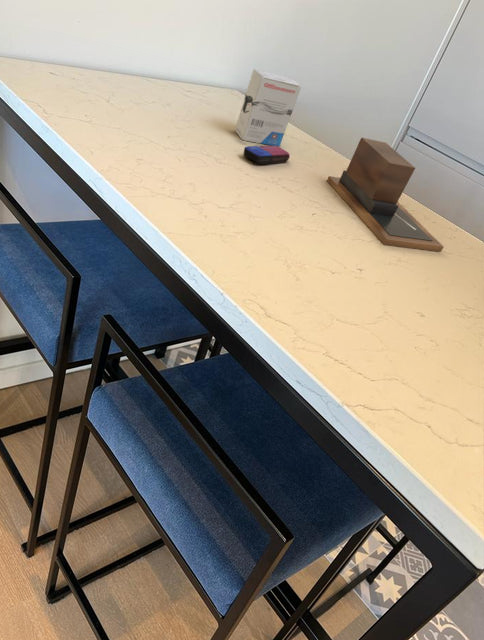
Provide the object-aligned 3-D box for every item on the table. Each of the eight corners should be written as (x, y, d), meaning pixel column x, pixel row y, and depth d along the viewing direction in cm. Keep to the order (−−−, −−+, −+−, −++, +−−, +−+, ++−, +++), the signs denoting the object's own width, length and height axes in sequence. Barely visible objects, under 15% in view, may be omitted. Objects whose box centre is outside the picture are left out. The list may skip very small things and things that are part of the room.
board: (440, 252, 96) (444, 246, 95) (384, 244, 91) (387, 238, 90) (378, 189, 111) (381, 184, 110) (326, 180, 106) (329, 175, 105)
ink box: (271, 137, 116) (292, 77, 109) (280, 147, 113) (302, 86, 106) (233, 129, 112) (252, 67, 105) (241, 140, 109) (262, 76, 102)
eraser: (275, 152, 110) (278, 143, 109) (291, 162, 108) (294, 153, 107) (238, 155, 102) (241, 145, 101) (255, 165, 100) (258, 155, 99)
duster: (394, 216, 99) (418, 170, 94) (369, 213, 97) (392, 165, 91) (362, 184, 107) (383, 140, 102) (338, 180, 105) (358, 134, 100)
